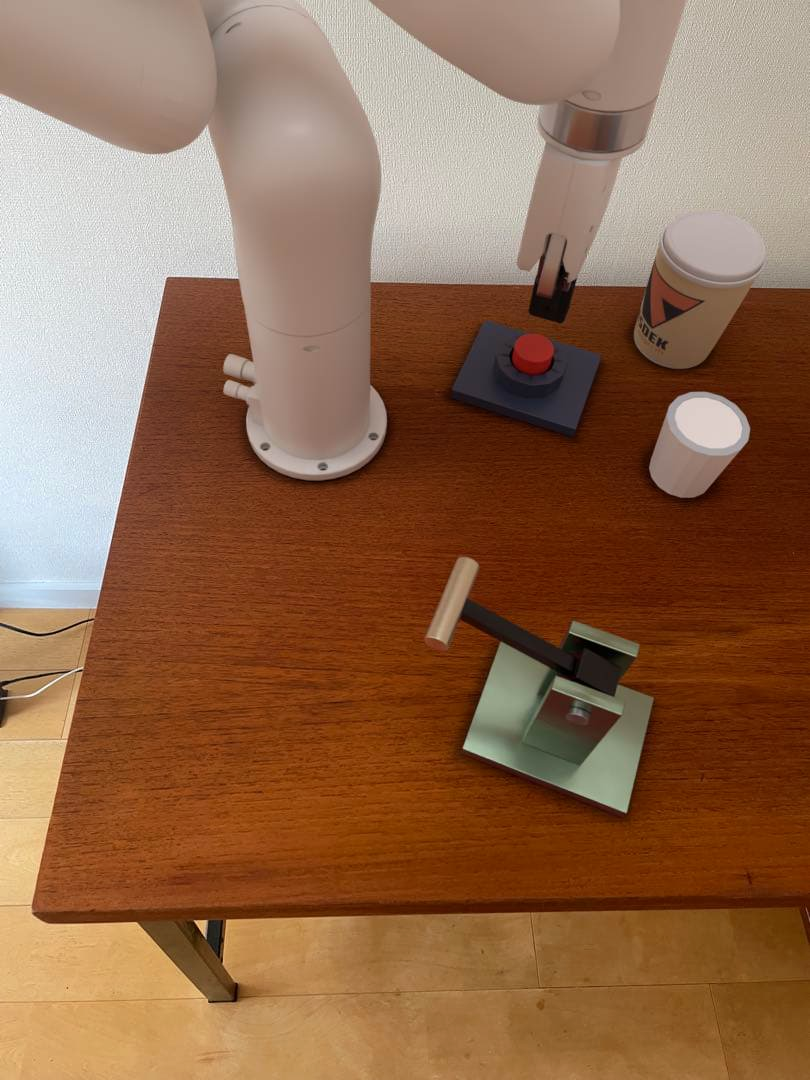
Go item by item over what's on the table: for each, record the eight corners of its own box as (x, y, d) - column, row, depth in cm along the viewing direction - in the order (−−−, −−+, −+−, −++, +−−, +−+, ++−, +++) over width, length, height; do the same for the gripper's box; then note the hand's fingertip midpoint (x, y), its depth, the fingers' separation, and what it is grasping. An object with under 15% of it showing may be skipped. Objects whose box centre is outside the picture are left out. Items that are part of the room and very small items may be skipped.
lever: (417, 643, 49) (431, 632, 47) (450, 564, 52) (465, 550, 50) (586, 733, 50) (607, 726, 48) (608, 651, 53) (629, 641, 51)
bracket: (460, 753, 58) (480, 695, 48) (498, 647, 62) (524, 573, 52) (622, 817, 56) (679, 771, 46) (649, 702, 60) (706, 637, 50)
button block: (450, 398, 75) (453, 375, 73) (483, 328, 80) (487, 305, 78) (573, 437, 73) (580, 416, 71) (599, 363, 78) (607, 341, 76)
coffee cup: (609, 317, 82) (644, 216, 71) (690, 301, 83) (736, 200, 73) (650, 384, 77) (694, 285, 67) (735, 365, 79) (790, 266, 69)
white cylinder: (658, 430, 74) (684, 378, 68) (728, 462, 73) (761, 412, 67) (630, 481, 71) (654, 431, 65) (703, 516, 69) (735, 468, 63)
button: (506, 368, 74) (509, 354, 72) (518, 342, 76) (521, 328, 74) (544, 380, 73) (547, 366, 72) (554, 353, 75) (558, 340, 74)
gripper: (571, 41, 58) (531, 249, 74) (510, 155, 51) (480, 359, 67) (673, 64, 57) (610, 271, 73) (625, 185, 50) (566, 385, 65)
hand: (548, 313), depth 70 cm, fingers closed
